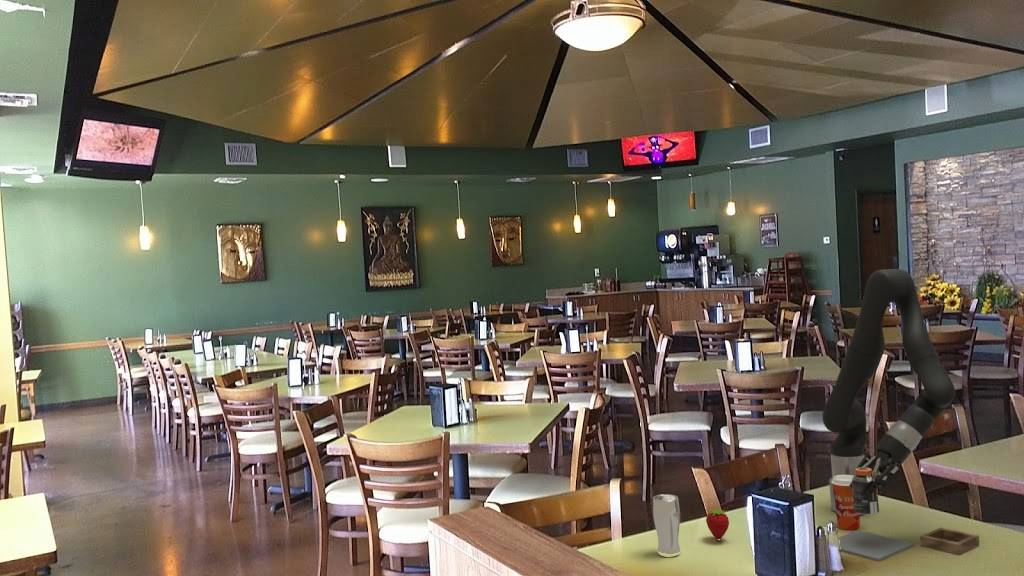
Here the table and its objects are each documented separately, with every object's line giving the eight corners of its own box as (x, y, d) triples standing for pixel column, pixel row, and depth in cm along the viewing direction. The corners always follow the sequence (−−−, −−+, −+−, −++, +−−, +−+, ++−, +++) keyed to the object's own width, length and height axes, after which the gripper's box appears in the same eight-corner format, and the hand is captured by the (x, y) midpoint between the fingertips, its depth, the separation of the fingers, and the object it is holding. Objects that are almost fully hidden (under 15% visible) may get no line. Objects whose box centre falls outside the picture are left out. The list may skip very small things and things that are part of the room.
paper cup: (833, 530, 226) (830, 480, 226) (834, 522, 233) (831, 473, 233) (864, 532, 223) (861, 481, 223) (864, 523, 230) (860, 474, 230)
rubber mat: (822, 546, 215) (822, 543, 215) (857, 532, 224) (857, 529, 224) (878, 561, 201) (878, 558, 201) (914, 545, 210) (914, 543, 210)
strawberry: (723, 535, 229) (721, 499, 228) (734, 543, 221) (732, 506, 221) (703, 537, 228) (701, 501, 228) (713, 546, 220) (711, 509, 220)
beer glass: (684, 550, 219) (680, 494, 219) (680, 559, 212) (677, 501, 212) (658, 548, 221) (654, 493, 221) (653, 557, 214) (650, 501, 214)
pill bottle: (883, 514, 209) (879, 470, 209) (859, 516, 209) (856, 472, 209) (873, 508, 215) (870, 465, 215) (850, 509, 215) (847, 466, 215)
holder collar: (920, 545, 210) (920, 536, 210) (941, 536, 215) (940, 527, 215) (959, 554, 202) (958, 544, 202) (979, 545, 207) (978, 535, 207)
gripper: (874, 428, 220) (835, 476, 219) (903, 437, 206) (861, 489, 205) (894, 446, 220) (855, 494, 219) (925, 456, 206) (883, 508, 205)
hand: (858, 491), depth 212 cm, fingers closed on pill bottle, 6 cm apart
